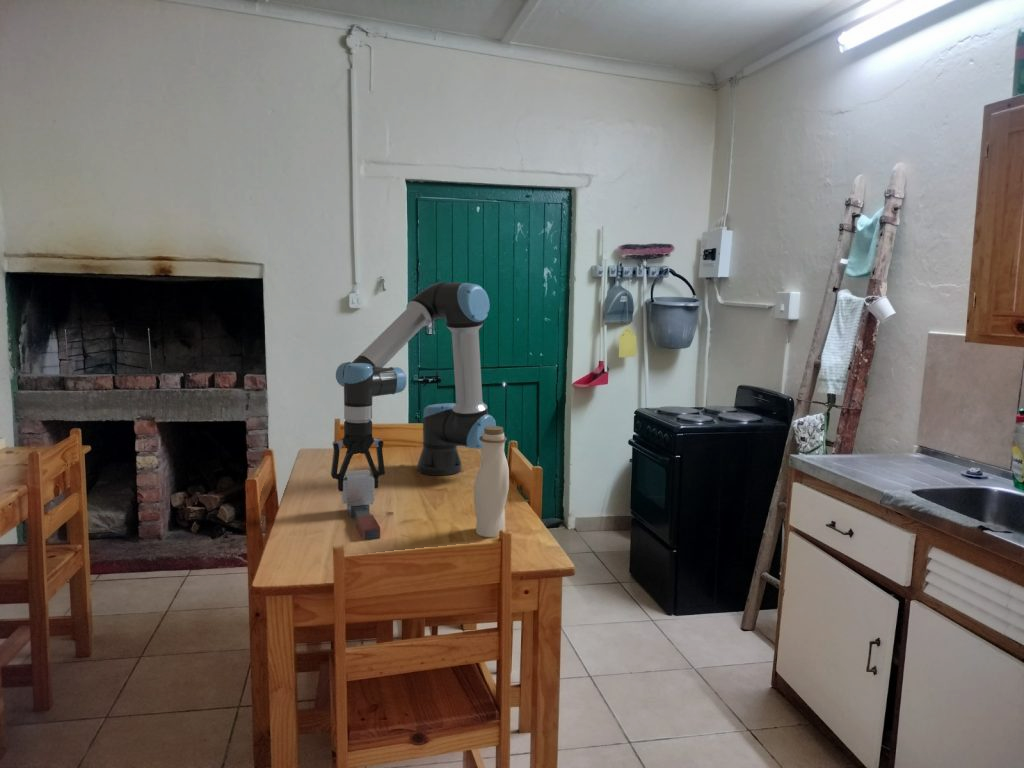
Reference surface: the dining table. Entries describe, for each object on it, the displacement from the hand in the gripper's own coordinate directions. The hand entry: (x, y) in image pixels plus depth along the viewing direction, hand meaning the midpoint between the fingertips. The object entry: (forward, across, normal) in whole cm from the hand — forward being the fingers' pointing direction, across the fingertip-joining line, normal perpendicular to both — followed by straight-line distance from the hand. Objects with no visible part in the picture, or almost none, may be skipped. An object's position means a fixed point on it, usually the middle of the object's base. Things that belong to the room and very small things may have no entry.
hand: (358, 500), depth 189 cm
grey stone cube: (0, 0, 0) cm, 0 cm away
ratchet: (+4, 0, +9) cm, 9 cm away
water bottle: (+4, -30, +24) cm, 39 cm away
